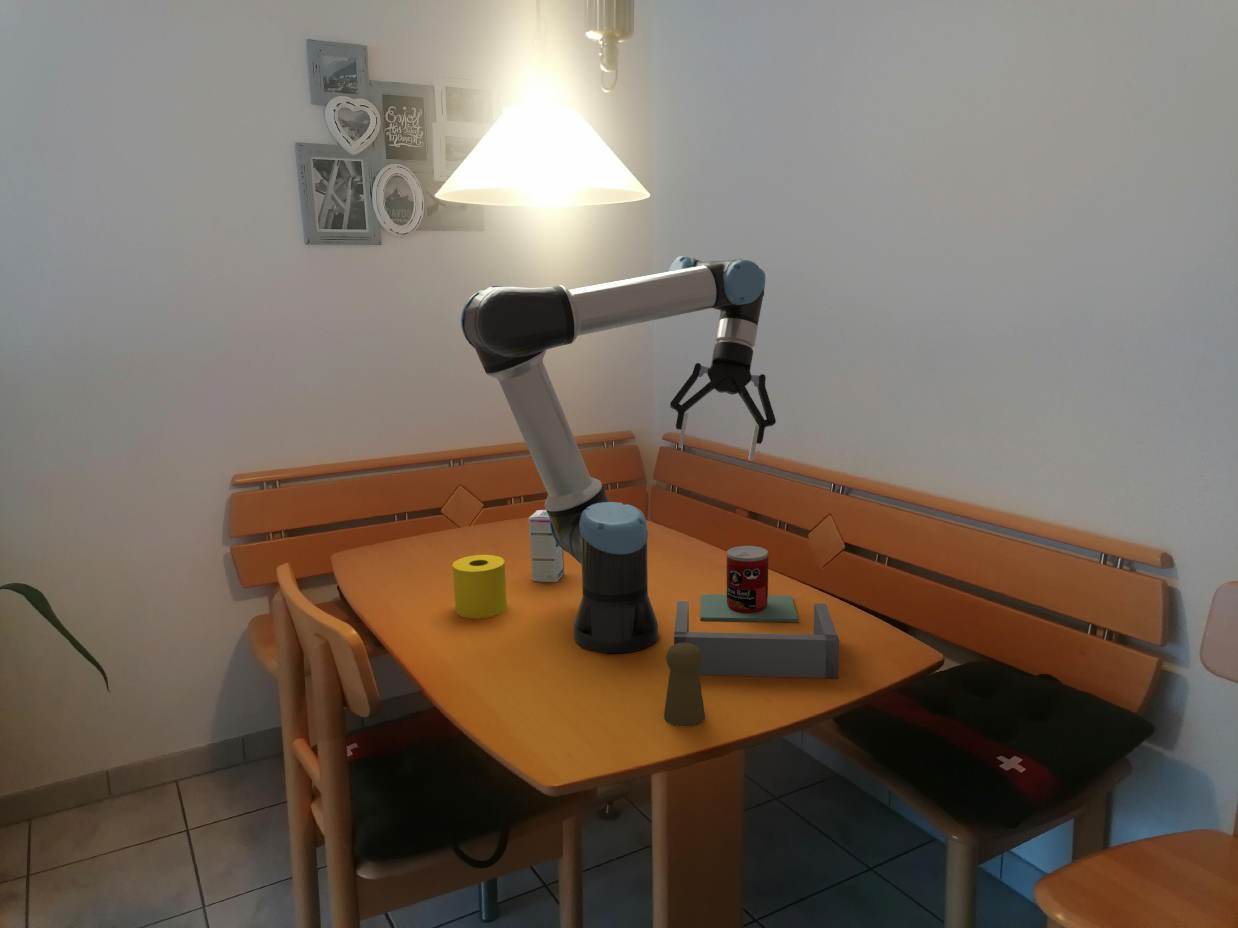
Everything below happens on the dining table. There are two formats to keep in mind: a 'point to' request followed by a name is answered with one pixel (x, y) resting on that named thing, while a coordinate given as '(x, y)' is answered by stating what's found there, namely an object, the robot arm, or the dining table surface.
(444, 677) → the dining table surface
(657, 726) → the dining table surface
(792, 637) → the open box
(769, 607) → the green mat
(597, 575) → the robot arm
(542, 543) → the syrup box
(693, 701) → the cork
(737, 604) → the canned food
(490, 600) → the tape roll
